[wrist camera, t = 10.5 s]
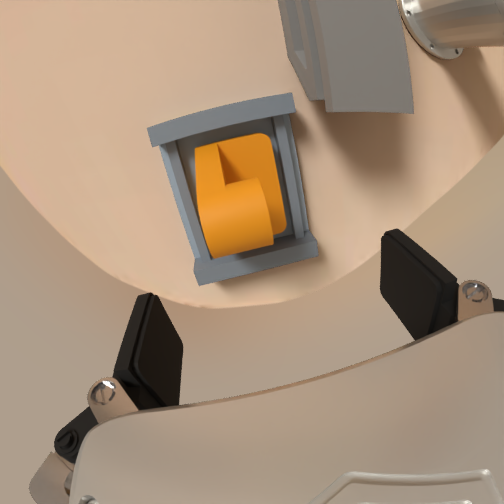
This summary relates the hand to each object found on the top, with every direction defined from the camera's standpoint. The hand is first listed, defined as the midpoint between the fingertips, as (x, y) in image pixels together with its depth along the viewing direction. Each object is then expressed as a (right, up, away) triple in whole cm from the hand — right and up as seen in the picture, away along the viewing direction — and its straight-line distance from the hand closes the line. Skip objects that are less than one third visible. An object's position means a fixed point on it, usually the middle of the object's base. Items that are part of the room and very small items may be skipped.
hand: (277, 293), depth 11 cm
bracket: (-2, +9, +19) cm, 21 cm away
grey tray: (-3, +9, +20) cm, 22 cm away
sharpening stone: (+6, +29, +12) cm, 31 cm away
